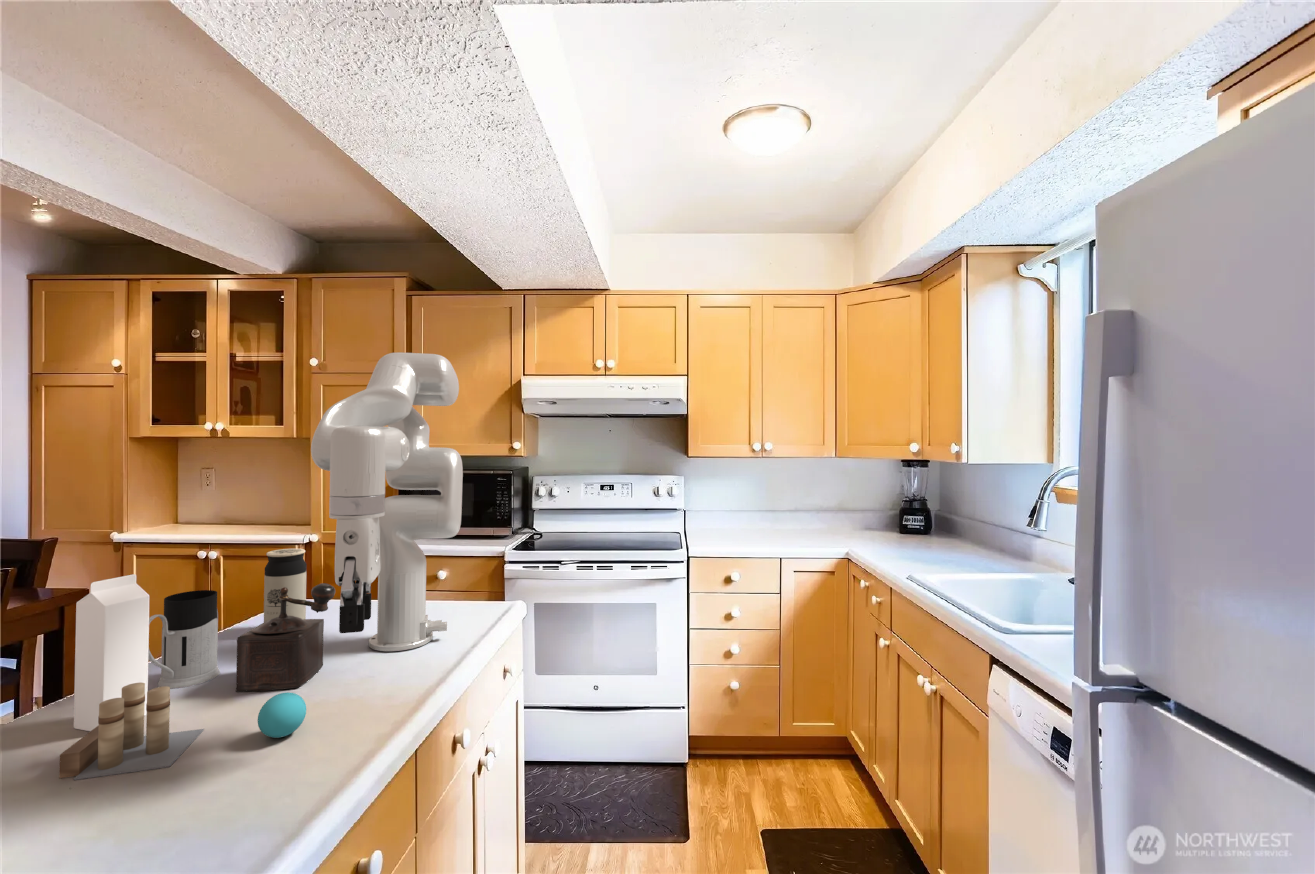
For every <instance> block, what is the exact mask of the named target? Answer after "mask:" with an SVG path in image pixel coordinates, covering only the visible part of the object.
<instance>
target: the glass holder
mask: <svg viewBox="0 0 1315 874" xmlns="http://www.w3.org/2000/svg"><path fill="white" fill-rule="evenodd" d="M218 611H219V610H218V591H216V590H212V589H203V590H191V591H185V592H178V593H174V594H170V595H168V596H165V597H164V598H163V614H154V615H151V616H149V625H150V624H151V622H152V621H153V620H155V619H156V618H159V619H160V620H161V622H162V627H161V662H159V661H158V660H156V659H155V657H154V656H153V655H152V653H151V651H150V647H149V648H148V662H151V663H152V664H153V665H155V666H156V667H159V668H160V669H161V671H160V673H161V675H160V678H159V680H158V682H157V686H158V687H163V686H168V687H170V690H172V689H181V688H189V687H193V686H197V685H200V684H204V683H207V682H210V681H211V680H213V679H215V678H217V677H218V676H219V675H220V674H221V671H220V668H219V666H218V644H219V643H218V638H219V636H218V633H219V632H218V629H219V612H218Z"/></svg>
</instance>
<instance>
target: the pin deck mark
mask: <svg viewBox="0 0 1315 874" xmlns="http://www.w3.org/2000/svg"><path fill="white" fill-rule="evenodd" d="M204 731H205V728H199V729H189V730H183V731H182V730H181V731H174V732H169V748H168V749H167V750H165V751H163V752H161V753H157V754H152V755H148V754H146V735H144V743H143V744H142V745H140V746H138V747H136V748H132V749H128V750H123V762H122V763H121V764H120V765H118V766H116V767H113V768H110V769H105V770H99V769H98V759H96V760H95V761H94V762H93V763H92V764H90V765H89V766H88V767H87V768H86V769H85V770H83V771H82V772H81V773H80V774H79V775H77V776H74V778H73V781H77V780H84V779H91V778H99V777H107V776H114V775H115V776H116V775H120V774H121V775H122V774H128V773H136V772H143V771H149V770H157V769H163V768H170V767H171V766H172V765H173V764H174V763H175V762H176V760H177V759H179V758H180V756H182V754H183V753H184V752H185V751H186V750H187V749H188V748H189V746H191V745H192V744H193V743H194V742H195V740H197V738H198V737H199V736H200V735H201V734H202V733H203V732H204Z"/></svg>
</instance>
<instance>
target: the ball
mask: <svg viewBox="0 0 1315 874" xmlns="http://www.w3.org/2000/svg"><path fill="white" fill-rule="evenodd" d="M306 714H307V704H306V702H305V700H304V699H303V697H302V696H300V694H298V693H294V692H281V693H278V694H275V695H274V696H272V697H271V698H269V699H268V700H266V701H265V703H264V704H263V705H262V707H261V708H260V710H259V713H258V715H257V726H258V729H259V731H260V732H261V733H262V734H263V735H265V736H266V737H269V738H273V739H275V738H277V739H279V738H283V737H287V736H289V735H291V734H292V733H294V732H295V731H296V730H297V729H299V728H300V727H301V726H302V724H303V722H304V721H305V718H306Z"/></svg>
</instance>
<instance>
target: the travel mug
mask: <svg viewBox="0 0 1315 874" xmlns="http://www.w3.org/2000/svg"><path fill="white" fill-rule="evenodd" d="M306 552H307V551H306V550H305V549H303V548H283V549H275V550H271V551H268V552H266V556H267V560H268V562H267V563H266V565H265V567H264V585H263V587H264V588H263V591H264V592H263V599H264V601H263V623H264V622H266V621H268V620H271V619H273V618H276V617H279V615H280V611H281V600H280V599H279V596H280V595H281V593H280V590H281V588H283V587H286V588H287V589H288V593H287V594H288V597H290V598H294V599H299V600H306V601H307V562H306V561H305V559H304V557H305V553H306ZM306 608H307V606H306V605H299V604H293V603H290V602H288V601H287V603H286V613H287V615H288V616H295V617H299V618H301V619H307V618H306V617H307V616H306V613H307V609H306Z"/></svg>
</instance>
